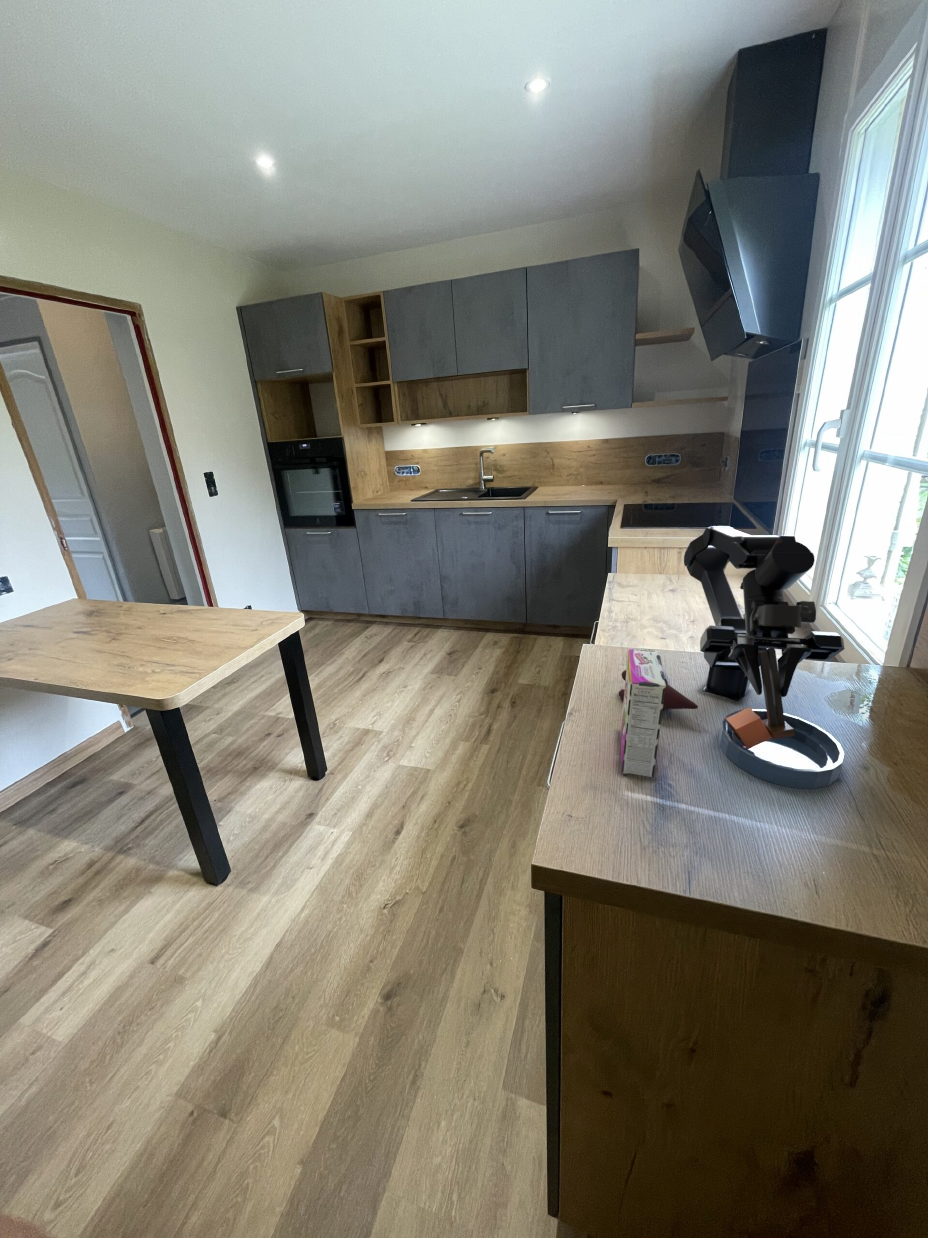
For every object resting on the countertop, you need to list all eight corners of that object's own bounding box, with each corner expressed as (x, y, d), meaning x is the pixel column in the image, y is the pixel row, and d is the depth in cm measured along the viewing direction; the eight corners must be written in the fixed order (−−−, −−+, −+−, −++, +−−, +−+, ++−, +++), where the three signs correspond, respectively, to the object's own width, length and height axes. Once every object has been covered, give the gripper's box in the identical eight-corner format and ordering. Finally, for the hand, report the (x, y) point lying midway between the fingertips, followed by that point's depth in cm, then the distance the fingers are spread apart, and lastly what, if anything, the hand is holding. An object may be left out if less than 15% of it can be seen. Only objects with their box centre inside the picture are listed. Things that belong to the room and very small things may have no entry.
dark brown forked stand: (761, 727, 79) (749, 648, 75) (780, 723, 78) (770, 643, 75) (774, 739, 75) (762, 657, 71) (794, 735, 74) (784, 652, 71)
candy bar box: (618, 733, 84) (627, 647, 78) (649, 737, 83) (660, 650, 77) (619, 775, 74) (630, 681, 68) (654, 780, 73) (668, 685, 67)
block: (736, 737, 80) (725, 718, 80) (759, 726, 79) (748, 707, 79) (747, 749, 76) (735, 729, 76) (772, 738, 76) (760, 717, 75)
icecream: (709, 685, 86) (632, 664, 97) (691, 690, 81) (612, 667, 92) (703, 722, 87) (627, 697, 98) (684, 729, 82) (607, 702, 93)
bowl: (705, 759, 77) (708, 741, 76) (734, 715, 88) (738, 698, 87) (829, 808, 67) (835, 788, 65) (844, 751, 78) (850, 733, 76)
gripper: (713, 577, 75) (717, 674, 69) (855, 582, 70) (872, 686, 64) (698, 608, 85) (700, 694, 79) (821, 614, 80) (833, 706, 74)
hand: (771, 695), depth 74 cm, fingers closed on dark brown forked stand, 3 cm apart
